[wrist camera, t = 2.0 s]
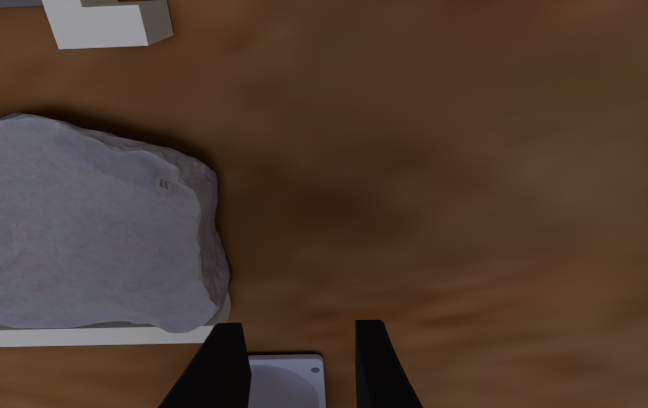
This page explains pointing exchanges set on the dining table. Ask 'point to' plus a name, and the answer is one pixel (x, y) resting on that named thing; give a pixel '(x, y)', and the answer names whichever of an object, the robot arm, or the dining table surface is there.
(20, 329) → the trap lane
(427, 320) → the dining table surface
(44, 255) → the stone block
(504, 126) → the dining table surface
